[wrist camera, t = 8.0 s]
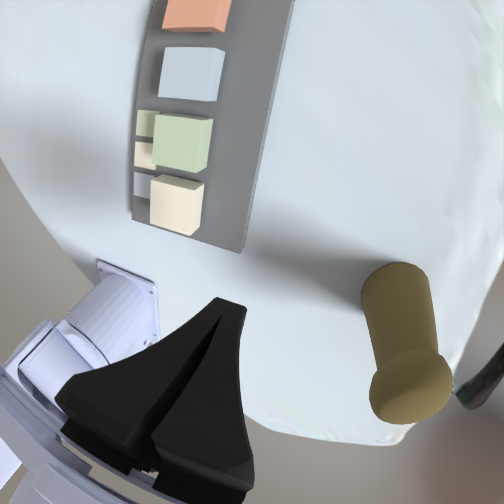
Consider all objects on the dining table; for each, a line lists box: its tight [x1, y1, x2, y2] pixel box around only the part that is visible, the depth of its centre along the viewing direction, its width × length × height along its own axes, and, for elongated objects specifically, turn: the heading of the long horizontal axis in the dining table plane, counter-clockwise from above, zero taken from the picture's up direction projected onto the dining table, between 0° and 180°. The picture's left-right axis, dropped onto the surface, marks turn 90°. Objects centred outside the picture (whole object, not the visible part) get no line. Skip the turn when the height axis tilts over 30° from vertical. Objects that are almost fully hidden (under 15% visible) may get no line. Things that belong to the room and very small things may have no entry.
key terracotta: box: [162, 0, 232, 33], centre depth 11 cm, size 3×3×2 cm
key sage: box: [152, 113, 213, 173], centre depth 17 cm, size 3×3×2 cm
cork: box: [361, 263, 452, 425], centre depth 16 cm, size 6×6×11 cm
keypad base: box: [131, 0, 295, 254], centre depth 17 cm, size 20×10×1 cm, turn 169°
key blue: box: [158, 47, 225, 101], centre depth 14 cm, size 3×3×2 cm
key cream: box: [150, 174, 204, 236], centre depth 19 cm, size 3×3×2 cm
